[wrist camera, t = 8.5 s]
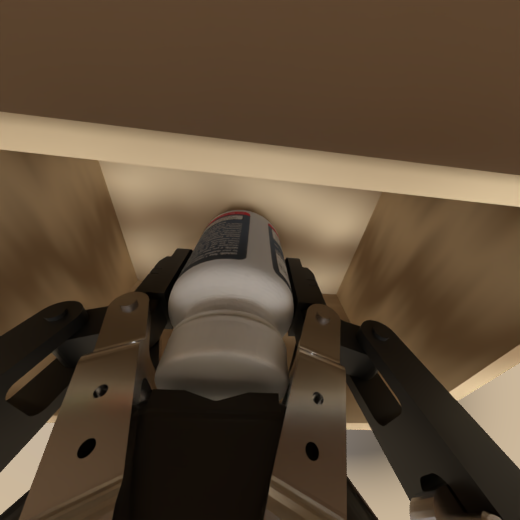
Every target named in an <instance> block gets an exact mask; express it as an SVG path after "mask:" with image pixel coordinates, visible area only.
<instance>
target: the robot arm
mask: <svg viewBox="0 0 520 520" xmlns="http://www.w3.org/2000/svg"><path fill="white" fill-rule="evenodd" d="M192 252H193V251H192V249H182V248H177V249H176V250H175V252H174V253H173V255H172V256H166V257H165V258H163V259H161V260H160V261H158V263H157V264H156V265H155V266H154V268H153V269H152V270H151V271H150V274H148V275H147V276H146V278H145V279H144V280H143V281H142V283H141V284H140V285H139V286H138V287H137V289H136V290H135V291H134V292H130V293H126V294H123V295H121V296H119V297H117V298H116V299H114V300H113V301H112V302H111V303H110V304H109V306H106V307H100V308H94V309H88V310H85V308H84V307H83V305H82V304H81V303H80V302H78V301H64V302H59V303H56V304H53V305H51V306H48V307H46V308H44V309H43V310H41V311H39V312H38V313H36V314H35V315H33V316H32V317H30V318H28V319H27V320H25V321H24V322H22V323H20V324H19V325H17V326H16V327H14V328H13V329H11V330H9V331H8V332H6V333H5V334H3V335H2V336H0V472H1V471H2V470H3V469H4V468H5V467H6V466H7V464H8V463H9V462H10V461H11V460H12V459H13V458H14V457H15V456H16V455H17V454H18V453H19V452H20V450H21V449H22V448H23V447H24V446H25V445H26V444H27V443H28V442H29V441H30V440H31V439H32V437H33V436H34V435H35V434H36V433H37V432H38V431H39V430H40V429H41V428H42V427H43V425H44V424H45V423H46V422H47V421H48V420H49V419H50V418H51V417H52V416H53V415H54V414H55V413H56V411H57V410H58V409H59V408H60V407H61V408H60V411H59V413H58V416H57V419H56V421H55V424H54V427H53V430H52V432H51V435H50V438H49V440H48V443H47V445H46V448H45V451H44V453H43V456H42V459H41V462H40V464H39V467H38V470H37V473H36V475H35V478H34V480H33V483H32V486H31V488H30V490H29V491H28V492H26V493H25V494H24V495H23V496H22V497H21V498H20V499H18V500H17V501H16V502H15V503H14V504H13V505H12V506H11V507H9V508H8V509H7V510H6V511H5V512H4V513H3V514H1V515H0V520H378V518H377V517H376V516H375V514H374V513H373V511H372V510H371V509H370V507H369V506H368V504H367V503H366V502H365V500H364V499H363V497H362V496H361V495H360V493H359V492H358V491H357V489H356V488H355V487H354V485H353V484H352V482H351V481H350V479H349V478H348V477H347V474H346V473H347V472H346V471H347V468H346V467H347V466H346V465H347V463H346V383H347V385H348V387H349V389H350V391H351V392H352V394H353V396H354V398H355V400H356V402H357V403H358V405H359V407H360V409H361V411H362V413H363V415H364V416H365V418H366V420H367V422H368V424H369V426H370V428H371V429H372V431H373V433H374V435H375V437H376V439H377V440H378V442H379V444H380V446H381V448H382V450H383V451H384V453H385V455H386V457H387V459H388V461H389V463H390V464H391V466H392V468H393V470H394V472H395V474H396V476H397V477H398V479H399V481H400V483H401V485H402V487H403V488H404V490H405V492H406V494H407V496H408V498H409V500H410V501H411V502H410V519H411V520H520V469H519V468H518V467H517V466H516V465H515V464H514V463H513V462H512V460H511V459H510V458H509V457H508V456H507V455H506V454H505V453H504V452H503V451H502V450H501V448H500V447H499V446H498V445H497V444H496V443H495V442H494V441H493V440H492V439H491V438H490V436H489V435H488V434H487V433H486V432H485V431H484V430H483V429H482V428H481V427H480V426H479V425H478V423H477V422H476V421H475V420H474V419H473V418H472V417H471V416H470V415H469V414H468V412H467V411H466V410H465V409H464V408H463V407H462V406H461V405H460V404H459V403H458V402H457V400H456V399H455V398H454V397H453V396H452V395H451V394H450V393H449V392H448V391H447V390H446V388H445V387H444V386H443V385H442V384H441V383H440V382H439V381H438V380H437V379H436V378H435V376H434V375H433V374H432V373H431V372H430V371H429V370H428V369H427V368H426V367H425V366H424V364H423V363H422V362H421V361H420V360H419V359H418V358H417V357H416V356H415V355H414V354H413V352H412V351H411V350H410V349H409V348H408V347H407V346H406V345H405V344H404V343H403V342H402V340H401V339H400V338H399V337H398V336H397V335H396V334H395V333H394V332H393V331H392V330H391V329H390V328H389V327H387V326H386V325H384V324H382V323H380V322H378V321H374V320H366V321H364V322H363V323H362V324H361V326H358V325H355V324H352V323H349V322H346V321H343V320H341V319H340V317H339V315H338V314H337V313H336V312H335V311H334V310H333V309H332V308H330V307H328V306H327V305H326V303H325V300H324V298H323V295H322V293H321V291H320V288H319V286H318V283H317V281H316V278H315V276H314V274H313V272H312V271H311V270H310V269H309V268H307V267H302V264H301V261H300V259H299V258H288V257H286V259H285V264H286V268H287V273H288V277H289V282H290V286H291V291H292V294H293V304H294V315H293V320H292V323H291V325H290V328H289V330H288V336H295V340H296V344H295V347H294V350H293V354H292V358H291V362H290V366H289V370H288V374H289V383H288V386H287V389H286V391H285V394H284V396H283V398H282V399H281V400H280V402H279V394H278V393H255V392H248V393H244V394H240V395H237V396H233V397H229V398H226V399H222V400H218V401H214V400H211V399H208V398H205V397H202V396H200V395H197V394H194V393H191V392H189V391H186V390H168V389H157V387H156V385H155V381H154V378H155V373H156V370H157V367H158V364H159V362H160V359H161V352H162V338H161V334H162V332H163V330H164V329H173V326H172V324H171V321H170V318H169V314H168V301H169V297H170V294H171V291H172V288H173V286H174V284H175V282H176V280H177V279H178V277H179V275H180V273H181V271H182V270H183V268H184V266H185V265H186V263H187V261H188V259H189V258H190V256H191V254H192ZM51 353H52V354H53V355H54V356H55V357H56V359H55V360H54V361H52V362H51V363H50V364H49V365H48V366H47V367H46V368H44V369H43V370H42V371H41V372H40V373H39V374H37V375H36V376H35V377H34V378H33V379H32V380H31V381H29V382H28V383H27V384H26V385H25V386H24V387H22V388H21V389H20V390H19V391H18V392H17V393H16V394H14V395H13V396H12V397H11V398H9V399H8V400H6V394H7V392H8V390H9V389H10V388H11V387H12V385H13V384H14V383H16V382H17V381H18V380H19V379H20V378H22V377H23V376H24V375H25V374H26V373H28V372H29V371H30V370H31V369H32V368H34V367H35V366H36V365H37V364H38V363H40V362H41V361H42V360H43V359H44V358H46V357H47V356H48V355H49V354H51ZM378 371H379V372H380V374H381V375H382V377H383V378H384V380H385V381H386V382H387V384H388V385H389V387H390V388H391V390H392V391H393V392H394V394H395V395H396V397H397V398H398V400H399V402H400V404H401V406H400V404H399V403H398V401H397V400H396V398H395V397H394V396H393V394H392V393H391V391H390V390H389V388H388V387H387V385H386V384H385V383H384V381H383V380H382V378H381V377H380V375H379V374H378Z"/></svg>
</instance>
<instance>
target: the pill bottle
mask: <svg viewBox="0 0 520 520" xmlns="http://www.w3.org/2000/svg"><path fill="white" fill-rule="evenodd" d="M168 314H169V318H170V321H171V324H172V326H173V327H174V329H173V331H172V333H171V336H170V338H169V340H168V343H167V345H166V348H165V350H164V352H163V355H162V357H161V359H160V362H159V364H158V367H157V370H156V373H155V378H154V381H155V385H156V387H157V389H168V390H186V391H189V392H191V393H194V394H197V395H200V396H202V397H205V398H208V399H211V400H214V401H218V400H222V399H226V398H229V397H233V396H237V395H240V394H244V393H248V392H255V393H278V394H279V401H280V400H281V399H282V398H283V396H284V394H285V391H286V389H287V386H288V383H289V374H288V364H287V349H286V346H285V343H284V341H283V339H282V338H283V337H284V335H285V334H286V333H287V331H288V330H289V328H290V325H291V323H292V320H293V315H294V304H293V294H292V291H291V286H290V282H289V277H288V273H287V268H286V264H285V260H284V256H283V251H282V247H281V243H280V239H279V236H278V233H277V231H276V230H275V228H274V227H273V225H272V224H271V223H270V222H269V221H268V220H266V219H265V218H264V217H262V216H261V215H259V214H256V213H254V212H251V211H246V210H232V211H227V212H224V213H222V214H220V215H218V216H217V217H215V218H214V219H213V220H212V221H211V222H210V223H209V224H208V226H207V227H206V229H205V230H204V232H203V234H202V236H201V238H200V239H199V241H198V243H197V245H196V247H195V249H194V250H193V252H192V254H191V256H190V258H189V259H188V261H187V263H186V265H185V266H184V268H183V270H182V271H181V273H180V275H179V277H178V279H177V280H176V282H175V284H174V286H173V288H172V291H171V294H170V297H169V301H168Z"/></svg>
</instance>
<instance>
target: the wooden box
mask: <svg viewBox="0 0 520 520" xmlns="http://www.w3.org/2000/svg"><path fill="white" fill-rule="evenodd" d="M232 210H246V211H251V212H254V213H256V214H259V215H261V216H262V217H264V218H265V219H266V220H268V221H269V222H270V223H271V224H272V225H273V227H274V228H275V230H276V231H277V233H278V236H279V239H280V243H281V247H282V251H283V256H284V260H285V259H286V257H288V258H299V259H300V261H301V264H302V267H307V268H309V269H310V270H311V271H312V272H313V274H314V276H315V278H316V281H317V283H318V286H319V288H320V291H321V293H322V295H323V298H324V300H325V303H326V305H327V306H328V307H330V308H332V309H333V310H334V311H335V312H336V313H337V314H338V315H339V317H340V319H341V320H343V321H346V322H349V323H352V324H355V325H358V326H361V324H362V323H363V322H364V321H366V320H374V321H378V322H380V323H382V324H384V325H386V326H387V327H389V328H390V329H391V330H392V331H393V332H394V333H395V334H396V335H397V336H398V337H399V338H400V339H401V340H402V342H403V343H404V344H405V345H406V346H407V347H408V348H409V349H410V350H411V351H412V352H413V354H414V355H415V356H416V357H417V358H418V359H419V360H420V361H421V362H422V363H423V364H424V366H425V367H426V368H427V369H428V370H429V371H430V372H431V373H432V374H433V375H434V376H435V378H436V379H437V380H438V381H439V382H440V383H441V384H442V385H443V386H444V387H445V388H446V390H447V391H448V392H449V393H450V394H451V395H452V396H453V397H454V398H455V399H456V400H457V401H458V400H460V399H462V398H463V397H465V396H466V395H468V394H470V393H471V392H473V391H475V390H476V389H478V388H479V387H481V386H483V385H485V384H486V383H488V382H489V381H491V380H493V379H494V378H496V377H497V376H499V375H501V374H502V373H504V372H506V371H507V370H509V369H511V368H512V367H514V366H515V365H517V364H519V363H520V175H512V174H504V173H496V172H488V171H480V170H472V169H464V168H455V167H447V166H439V165H431V164H423V163H415V162H407V161H399V160H390V159H382V158H374V157H366V156H358V155H350V154H342V153H333V152H325V151H317V150H309V149H301V148H293V147H285V146H276V145H268V144H260V143H252V142H244V141H236V140H228V139H220V138H211V137H203V136H195V135H187V134H179V133H171V132H163V131H154V130H146V129H138V128H130V127H122V126H114V125H106V124H97V123H89V122H81V121H73V120H65V119H57V118H49V117H41V116H32V115H24V114H16V113H8V112H0V336H2V335H3V334H5V333H6V332H8V331H9V330H11V329H13V328H14V327H16V326H17V325H19V324H20V323H22V322H24V321H25V320H27V319H28V318H30V317H32V316H33V315H35V314H36V313H38V312H39V311H41V310H43V309H44V308H46V307H48V306H51V305H53V304H56V303H59V302H64V301H78V302H80V303H81V304H82V305H83V307H84V308H85V310H88V309H94V308H100V307H106V306H109V304H110V303H111V302H112V301H113V300H114V299H116V298H117V297H119V296H121V295H123V294H126V293H130V292H134V291H135V290H136V289H137V287H138V286H139V285H140V284H141V283H142V281H143V280H144V279H145V278H146V276H147V275H148V274H150V271H151V270H152V269H153V268H154V266H155V265H156V264H157V263H158V261H160V260H161V259H163V258H165V257H166V256H172V255H173V253H174V252H175V250H176V249H177V248H182V249H192V251H193V250H194V249H195V247H196V245H197V243H198V241H199V239H200V238H201V236H202V234H203V232H204V230H205V229H206V227H207V226H208V224H209V223H210V222H211V221H212V220H213V219H214V218H215V217H217V216H218V215H220V214H222V213H224V212H227V211H232ZM173 329H174V327H173ZM173 329H164V330H163V332H162V334H161V338H162V352H161V357H162V355H163V352H164V350H165V348H166V345H167V343H168V340H169V338H170V336H171V333H172V331H173ZM282 339H283V341H284V343H285V346H286V349H287V364H288V370H289V366H290V362H291V358H292V354H293V350H294V347H295V344H296V340H295V336H288V331H287V333H286V334H285V335H284V337H283V338H282ZM55 359H56V357H55V356H54V355H53V354H52V353H51V354H49V355H48V356H47V357H46V358H44V359H43V360H42V361H41V362H40V363H38V364H37V365H36V366H35V367H34V368H32V369H31V370H30V371H29V372H28V373H26V374H25V375H24V376H23V377H22V378H20V379H19V380H18V381H17V382H16V383H14V384H13V385H12V387H11V388H10V389H9V390H8V392H7V394H6V400H8V399H9V398H11V397H12V396H13V395H14V394H16V393H17V392H18V391H19V390H20V389H21V388H22V387H24V386H25V385H26V384H27V383H28V382H29V381H31V380H32V379H33V378H34V377H35V376H36V375H37V374H39V373H40V372H41V371H42V370H43V369H44V368H46V367H47V366H48V365H49V364H50V363H51V362H52V361H54V360H55ZM378 374H379V375H380V377H381V378H382V380H383V381H384V383H385V384H386V385H387V387H388V388H389V390H390V391H391V393H392V394H393V396H394V397H395V398H396V400H397V401H398V403H399V404H400V402H399V400H398V398H397V397H396V395H395V394H394V392H393V391H392V390H391V388H390V387H389V385H388V384H387V382H386V381H385V380H384V378H383V377H382V375H381V374H380V372H379V371H378ZM279 402H280V401H279ZM400 406H401V404H400ZM60 408H61V407H60ZM60 408H59V409H58V410H57V411H56V413H55V414H54V415H53V416H52V417H51V418H50V419H49V420H48V421H47V422H46V423H55V421H56V419H57V416H58V413H59V411H60ZM346 429H355V430H356V429H357V430H372V429H371V428H370V426H369V424H368V422H367V420H366V418H365V416H364V415H363V413H362V411H361V409H360V407H359V405H358V403H357V402H356V400H355V398H354V396H353V394H352V392H351V391H350V389H349V387H348V385H347V383H346Z"/></svg>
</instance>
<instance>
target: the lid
mask: <svg viewBox="0 0 520 520" xmlns="http://www.w3.org/2000/svg"><path fill="white" fill-rule="evenodd" d="M0 112H8V113H16V114H24V115H32V116H41V117H49V118H57V119H65V120H73V121H81V122H89V123H97V124H106V125H114V126H122V127H130V128H138V129H146V130H154V131H163V132H171V133H179V134H187V135H195V136H203V137H211V138H220V139H228V140H236V141H244V142H252V143H260V144H268V145H276V146H285V147H293V148H301V149H309V150H317V151H325V152H333V153H342V154H350V155H358V156H366V157H374V158H382V159H390V160H399V161H407V162H415V163H423V164H431V165H439V166H447V167H455V168H464V169H472V170H480V171H488V172H496V173H504V174H512V175H520V0H0Z"/></svg>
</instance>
